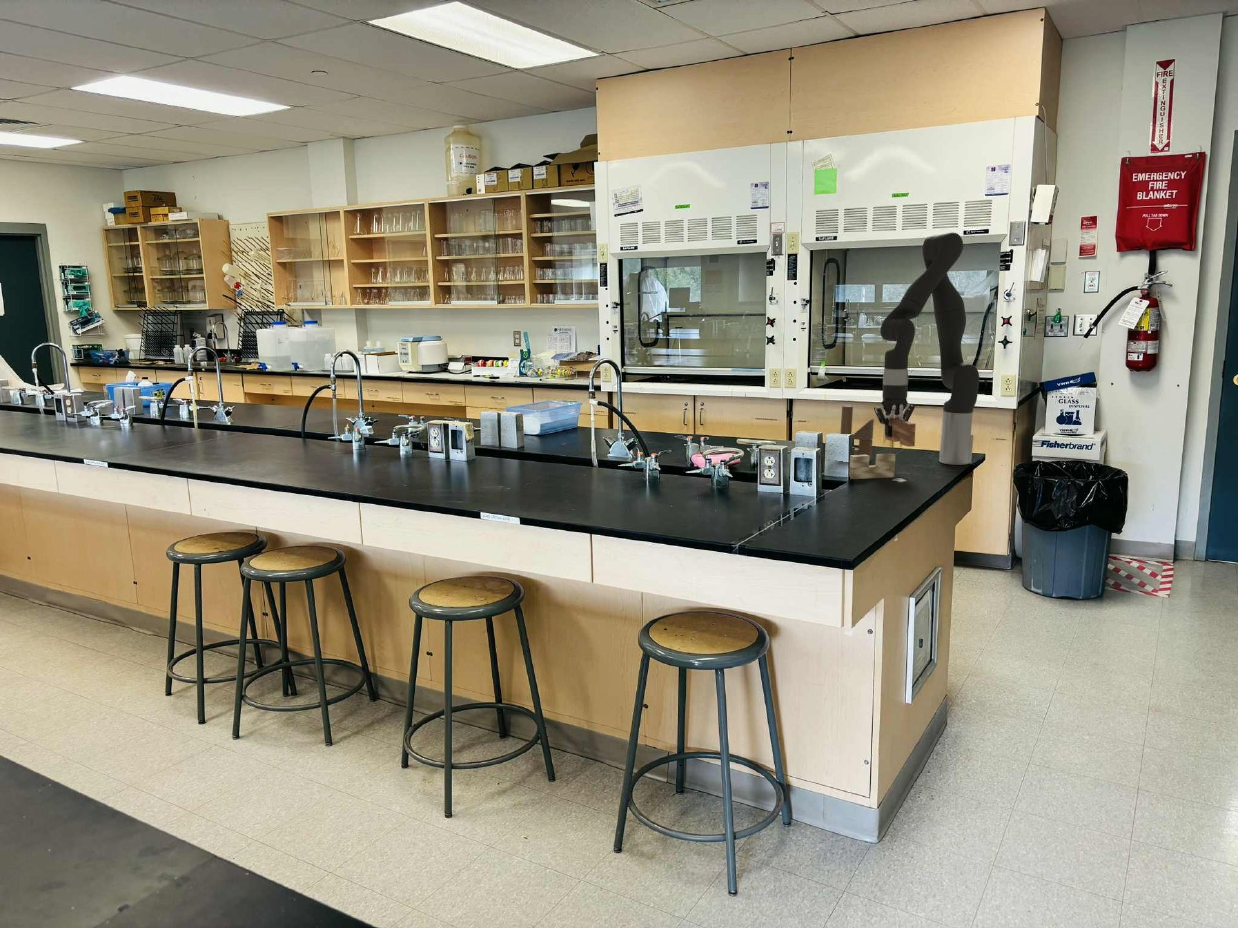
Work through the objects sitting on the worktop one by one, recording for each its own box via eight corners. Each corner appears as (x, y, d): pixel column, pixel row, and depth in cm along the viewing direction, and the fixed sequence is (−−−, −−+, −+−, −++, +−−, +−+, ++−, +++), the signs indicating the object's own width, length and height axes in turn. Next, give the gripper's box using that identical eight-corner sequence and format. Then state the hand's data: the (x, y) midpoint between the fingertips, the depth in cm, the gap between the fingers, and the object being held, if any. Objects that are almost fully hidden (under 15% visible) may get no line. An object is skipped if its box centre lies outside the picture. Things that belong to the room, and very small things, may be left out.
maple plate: (890, 475, 269) (891, 453, 267) (894, 477, 267) (895, 454, 265) (848, 477, 266) (850, 455, 265) (852, 479, 264) (853, 456, 262)
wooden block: (868, 461, 289) (871, 408, 286) (837, 458, 295) (840, 406, 292) (871, 460, 292) (874, 407, 289) (840, 456, 298) (843, 404, 295)
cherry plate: (892, 438, 278) (893, 417, 276) (914, 446, 265) (915, 423, 264) (886, 439, 277) (887, 417, 276) (908, 446, 265) (909, 424, 263)
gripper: (908, 380, 276) (906, 433, 280) (869, 382, 273) (867, 436, 277) (921, 383, 269) (919, 437, 273) (881, 385, 266) (879, 440, 270)
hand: (893, 436), depth 275 cm, fingers closed on cherry plate, 2 cm apart
